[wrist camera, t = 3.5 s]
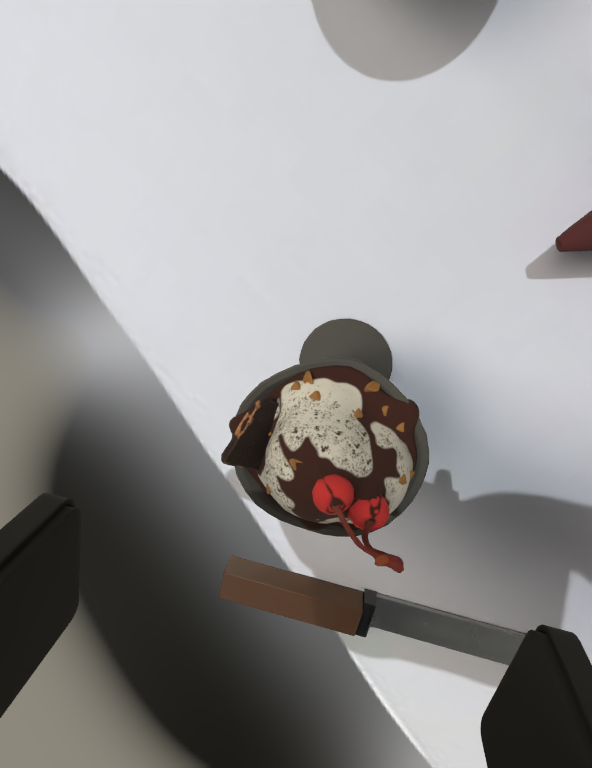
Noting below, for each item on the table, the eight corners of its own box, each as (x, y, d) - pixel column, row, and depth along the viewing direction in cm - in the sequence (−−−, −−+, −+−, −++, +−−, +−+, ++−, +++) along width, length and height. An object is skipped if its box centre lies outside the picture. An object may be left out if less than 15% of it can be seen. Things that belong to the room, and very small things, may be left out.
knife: (581, 648, 29) (592, 671, 27) (563, 678, 30) (572, 702, 28) (231, 551, 31) (224, 568, 29) (225, 583, 32) (218, 601, 30)
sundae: (431, 388, 25) (503, 618, 11) (321, 437, 27) (261, 683, 13) (374, 277, 23) (372, 379, 9) (262, 338, 25) (123, 496, 11)
